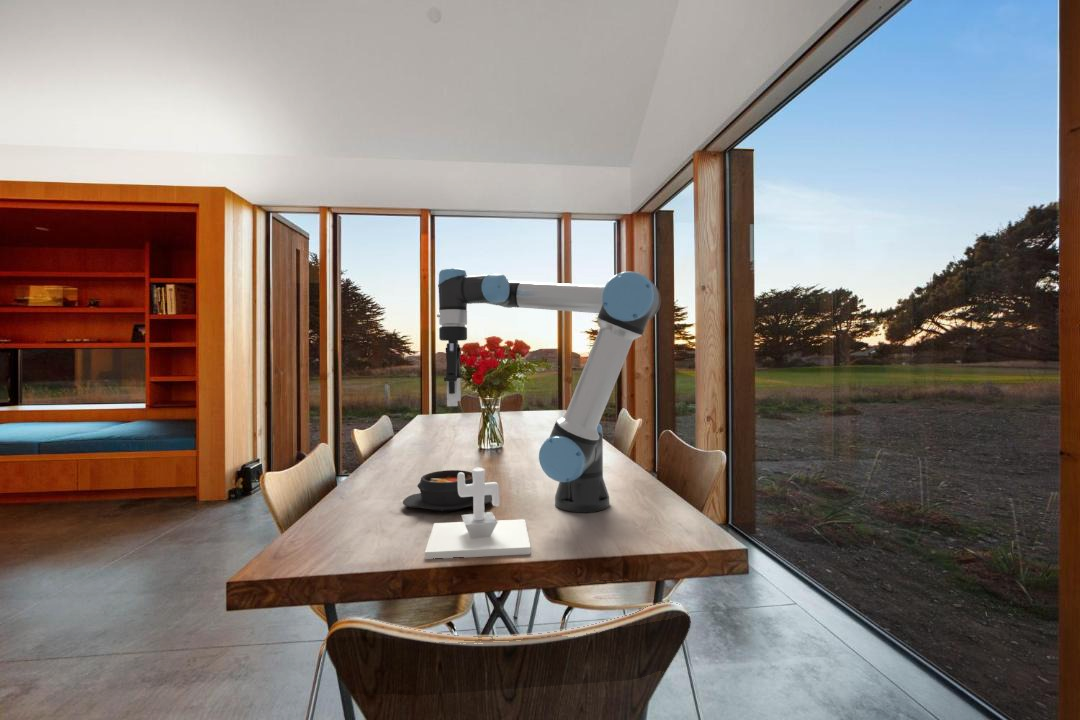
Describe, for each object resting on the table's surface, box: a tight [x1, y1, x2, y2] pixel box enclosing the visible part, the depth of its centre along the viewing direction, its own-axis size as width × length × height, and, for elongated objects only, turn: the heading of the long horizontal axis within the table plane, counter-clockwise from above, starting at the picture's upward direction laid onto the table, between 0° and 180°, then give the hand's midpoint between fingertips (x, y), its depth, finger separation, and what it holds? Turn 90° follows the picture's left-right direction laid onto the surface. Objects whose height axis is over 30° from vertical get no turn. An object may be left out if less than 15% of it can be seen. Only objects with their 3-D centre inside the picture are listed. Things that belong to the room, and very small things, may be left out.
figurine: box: [457, 466, 500, 539], centre depth 117 cm, size 7×9×15 cm
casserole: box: [402, 469, 492, 512], centre depth 144 cm, size 25×19×8 cm
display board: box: [424, 519, 532, 560], centre depth 117 cm, size 22×18×2 cm
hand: (454, 403), depth 141 cm, fingers open, 13 cm apart
